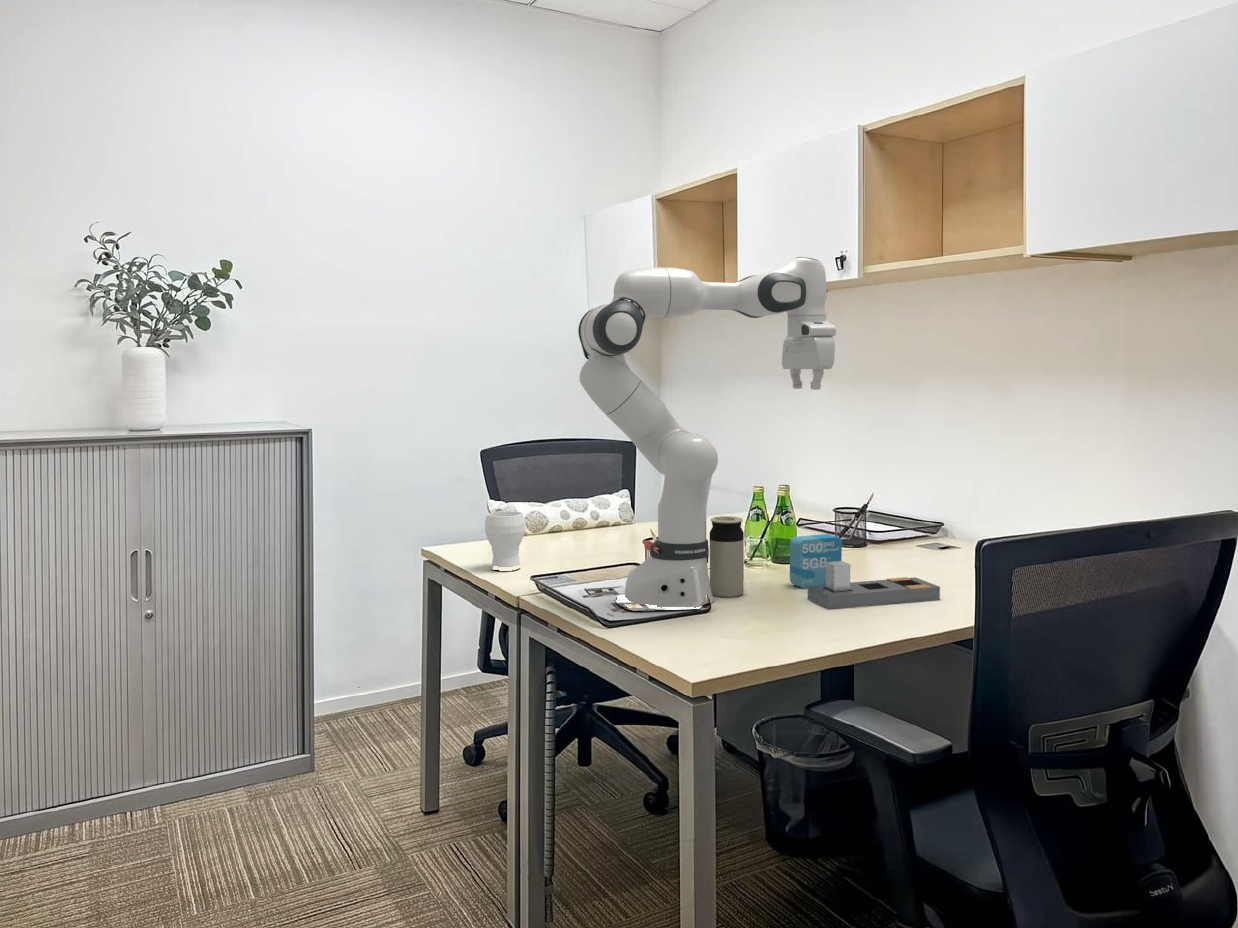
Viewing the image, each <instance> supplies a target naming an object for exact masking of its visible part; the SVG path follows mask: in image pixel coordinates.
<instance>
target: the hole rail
mask: <svg viewBox="0 0 1238 928" xmlns="http://www.w3.org/2000/svg"><path fill="white" fill-rule="evenodd" d="M940 596H941V586H939V585H936V584H935V583H931V582H929V581H926V580H925V579H924V580H923V579H921V578H918V577H916V576H914V577H893V578H886V579H880V580H878V579H876V580H866V581H853V582H851V581H850V591H847V592H835V593H833V592H830V591H828V590H826V584H825V585H812V586H808V588H807V600H809V601H811V602H814V603H815V604H817V605H819V606H821V607H823V608H824V609H827V610H835V609H845V608H857V607H870V606H879V605H880V606H881V605H882V606H883V605H892V604H895V605H896V604H904V603H916V602H927V601H937V600H938V601H939V600H941V597H940Z"/></svg>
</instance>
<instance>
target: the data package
mask: <svg viewBox="0 0 1238 928" xmlns="http://www.w3.org/2000/svg"><path fill="white" fill-rule="evenodd" d="M842 547H843V545H842V539H841V538H840V537H838V536H836V535H833V534H829V533H823V534H821V533H820V534H813V535H812V534H810V535H799V536H798V535H797V536H794V537H792V538H791V539H790V542H789V581H790V583H791V585H793V586H796V587H799V588H801V589H808V586H812V585H825V584H826V562H835V561H843V560H842V555H843V554H842V549H843V548H842Z"/></svg>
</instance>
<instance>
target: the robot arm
mask: <svg viewBox="0 0 1238 928" xmlns="http://www.w3.org/2000/svg"><path fill="white" fill-rule="evenodd" d="M827 297H828V296H827V274H826V268H825V266H824V263H823V262H821V261H819V260H818V259H815V258H812V257H803V256H798V257H794V258H791V259H790V260H789V261H788V262H787V263H786V264H784V265H782V266H781V267H779V268H776V269H774V270H771V271H769V272H765V273H761V274H756V275H749V276H746V277H744V278H741V279H739V280H738V281H735V282H721V281H720V282H714V281H703V280H701V279H700V277H699V275H697V274H696V273H695V272H694V271H693V270H687V269H683V268H679V267H670V266H669V267H667V266H666V267H665V266H664V267H663V266H662V267H659V266H657V267H645V268H636V269H631V270H626V271H623V272H622V273H621V274H619V276H618V277H617V278H616V281H615V283H614V287H613V298H612V300H611V301H610V302H609V303H607V304H601V305H599V306H596V307H594V308H591V309H589V310H588V311H587V312H585V314H584V315H583V316H582V318H581V319H580V322H579V323H578V328H577V329H578V331H577V332H578V338H579V341H580V344H581V348H582V352H583V355H584V357H585V358H586V361H585V362H584V364H582V367H581V370H580V373H579V378H578V379H579V383H580V385H581V386H582V387H583V388H582V389H584V391H585V392H586V393H587V395H588V396H589V398H590V399H591V400H592V402H593V403H594V404H595V405H596V407H598V409H599V410H600V411H601V412H602V413H603V414H604V415H605V416H606V417H607V418H608V419H609V420H610V421H611V422H612V423H613V424H615V425H616V427H617V428H619V430H621V431H622V433H624V435H626V437H628V438H629V440H631V442H632V444H633V445H634V447H636V449H637V450H638V451H639V452H640V453H641V454H642V455H643V457H644V458H645V459H646V460H647V461H648V462H649V463H650V465H651V466H653V468H654V469H655V470H656V471H657V472H658V473H659V474H661V475H663V476H664V482H663V487H662V493H661V498H660V501H659V503H658V506H657V539H656V540H655V541H654V542H652V541H650V540H645V541H644V543H643V548H645V550H647V551H649V555H650V556H649V557H648V558H647V559H645V560H644V561H643V562H642V563H641V564H639V565H638V566H637V567H636V568H634V569H633V570H632V571H630V572H629V573H628V574H627V578H626V581H625V587H624V588H625V589H624V593H625V597H626V598H627V599H628V600H629V601H631V602H633V603H637V604H649V605H657V607H661V608H662V607H694V608H696V607H700V606H701V602H702V600H703V599H704V598H705V597H706V595H707V594H708V597H709V599H710V601H711V603H710V604H712V603H713V602H714V601H715V598H714V595H712V592H711V587H710V575H709V570H708V564H709V559H710V545H709V540H708V539H707V506H708V498H709V494H710V489H711V483H712V478H713V475H714V473H715V472H716V470H717V468H718V463H719V457H718V452H717V449H716V448H715V446H714V445H713V444H712V443H711V442H710V441H709V440H708V439H707V438H706V437H705V436H702V435H701V434H699V433H693V432H689V431H687V430H685V428H683V427H682V426H681V425H680V424H679V423H678V421H676V419H675V417H673V415H672V414H671V412H670V411H669V410H668V407H667V406H666V404H665V402H663V400H662V399H661V398H660V397H659V396H658V395H657V394H656V393H655V392H654V391H652V389H651V388H650V387H649V386H648V385H647V384H646V383H645V382H644V381H643V380H642V379H641V377H639V375H637V374H636V373H635V372H634V371H633V370H631V368H630V366H629V365H628V363H627V362H626V358H625V354H626V353H628V352H630V351H631V350H633V349H634V348H635V347H636V345H638V343H639V341H640V339H641V336H642V333H643V327H644V323H645V321H646V319H652V318H655V319H672V318H680V317H686V316H692V315H693V314H695V313H696V312H698V311H702V310H703V311H704V310H723V311H724V310H727V311H729V310H730V311H734V312H736V313H738V314H740V315H743V316H745V317H748V318H750V319H759V318H762V317H763V318H764V317H767V316H773V315H779V314H783V313H786V315H787V335H786V338H785V339H784V340H783V344H782V353H781V365H782V366H781V367H782V369H783V370H790V371H789V373H790V378H791V381H792V389H795V390H798V389H802V388H803V381H802V380H801V374H802V370H812V373H811V374H812V375H813V376H812V381H810V389H811V390H813V391H815V390H819V391H820V390H821V387H822V386H821V383H822V379H823V377H824V370H831V369H832V368H833V367H834V364H835V352H836V351H835V350H836V349H835V348H836V344H835V338H834V336H836V335H837V328H836V326H835V325H833V324H832V323H830V321H828V320H827V312H826V308H825V307H826V306H825V305H826V301H827Z"/></svg>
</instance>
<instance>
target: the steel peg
mask: <svg viewBox="0 0 1238 928" xmlns="http://www.w3.org/2000/svg"><path fill="white" fill-rule="evenodd" d="M850 582H851V564H850V563H847V562H846V561H843V560H841V561H835V562H826V590H828V591H830V592H833V593H835V592H847V591H850Z"/></svg>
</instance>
